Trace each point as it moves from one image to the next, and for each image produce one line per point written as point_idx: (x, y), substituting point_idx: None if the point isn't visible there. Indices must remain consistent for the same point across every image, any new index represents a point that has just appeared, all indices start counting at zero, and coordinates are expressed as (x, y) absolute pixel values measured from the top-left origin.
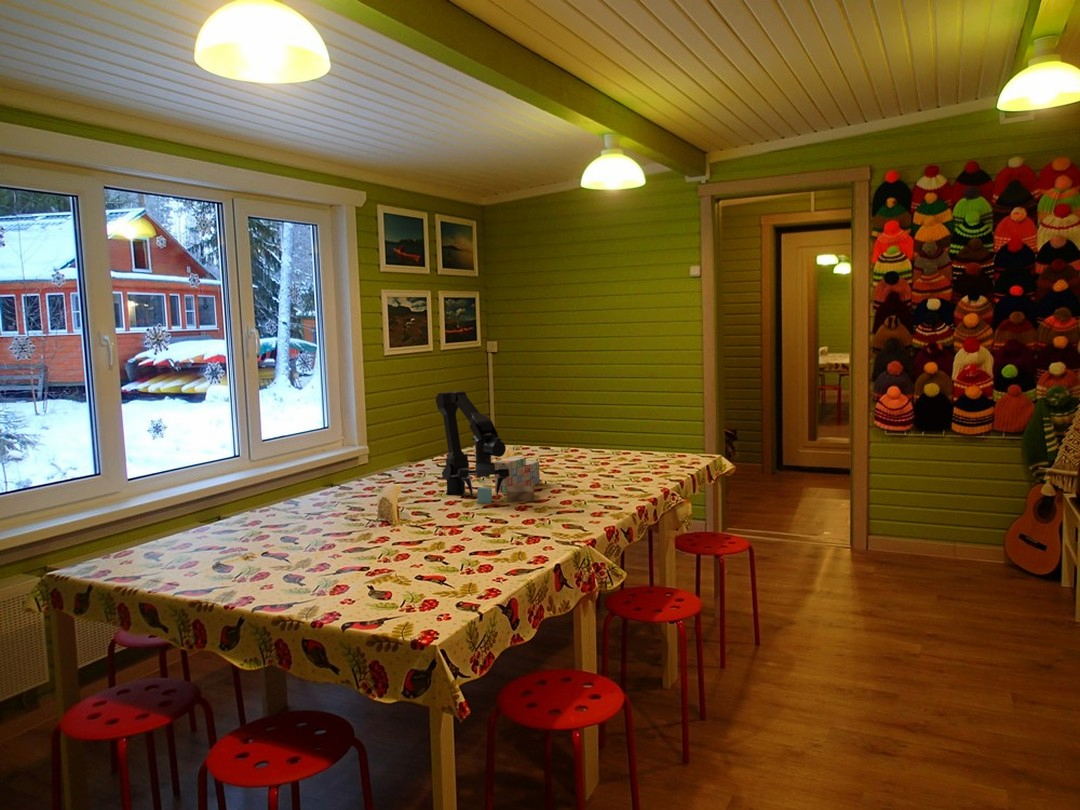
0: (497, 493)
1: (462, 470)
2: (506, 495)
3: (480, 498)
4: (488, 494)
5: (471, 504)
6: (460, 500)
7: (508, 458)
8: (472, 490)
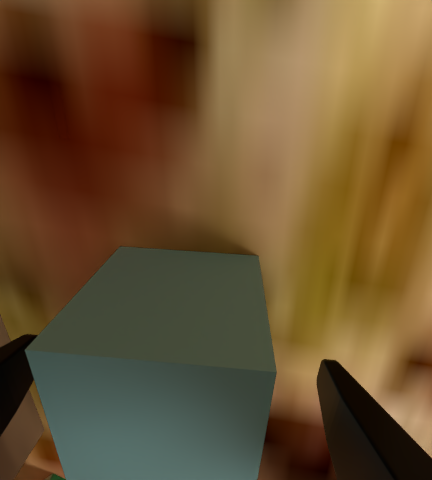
0: (9, 346)
1: None
2: (32, 423)
3: (227, 282)
4: (108, 304)
5: (329, 228)
6: (402, 387)
7: None
8: (332, 448)
